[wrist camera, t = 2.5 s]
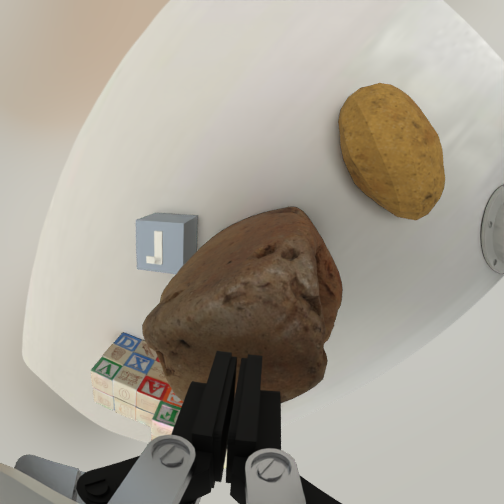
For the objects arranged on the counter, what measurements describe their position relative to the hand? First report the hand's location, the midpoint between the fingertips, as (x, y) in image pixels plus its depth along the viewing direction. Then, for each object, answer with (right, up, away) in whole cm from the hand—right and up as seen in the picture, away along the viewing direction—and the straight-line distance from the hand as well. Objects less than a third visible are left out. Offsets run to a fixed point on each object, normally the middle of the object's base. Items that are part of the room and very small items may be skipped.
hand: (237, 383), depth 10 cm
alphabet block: (-8, +7, +21) cm, 24 cm away
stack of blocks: (-8, -12, +27) cm, 30 cm away
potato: (+14, +15, +17) cm, 27 cm away
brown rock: (+2, +6, +21) cm, 22 cm away
